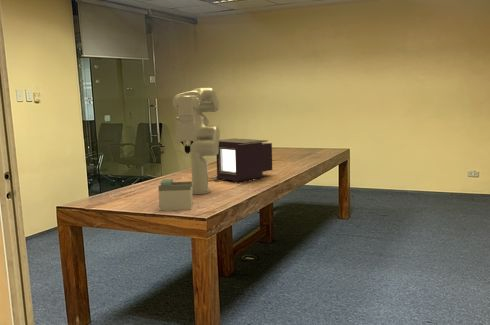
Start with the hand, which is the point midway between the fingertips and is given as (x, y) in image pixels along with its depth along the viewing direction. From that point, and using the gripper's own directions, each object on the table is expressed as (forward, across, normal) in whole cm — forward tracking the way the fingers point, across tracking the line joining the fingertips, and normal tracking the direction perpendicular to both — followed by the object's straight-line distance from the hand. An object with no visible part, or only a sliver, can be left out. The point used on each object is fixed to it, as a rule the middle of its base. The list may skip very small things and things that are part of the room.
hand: (187, 153), depth 245 cm
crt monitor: (+27, +33, +75) cm, 86 cm away
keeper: (+15, -10, -10) cm, 21 cm away
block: (+27, -6, -10) cm, 30 cm away
